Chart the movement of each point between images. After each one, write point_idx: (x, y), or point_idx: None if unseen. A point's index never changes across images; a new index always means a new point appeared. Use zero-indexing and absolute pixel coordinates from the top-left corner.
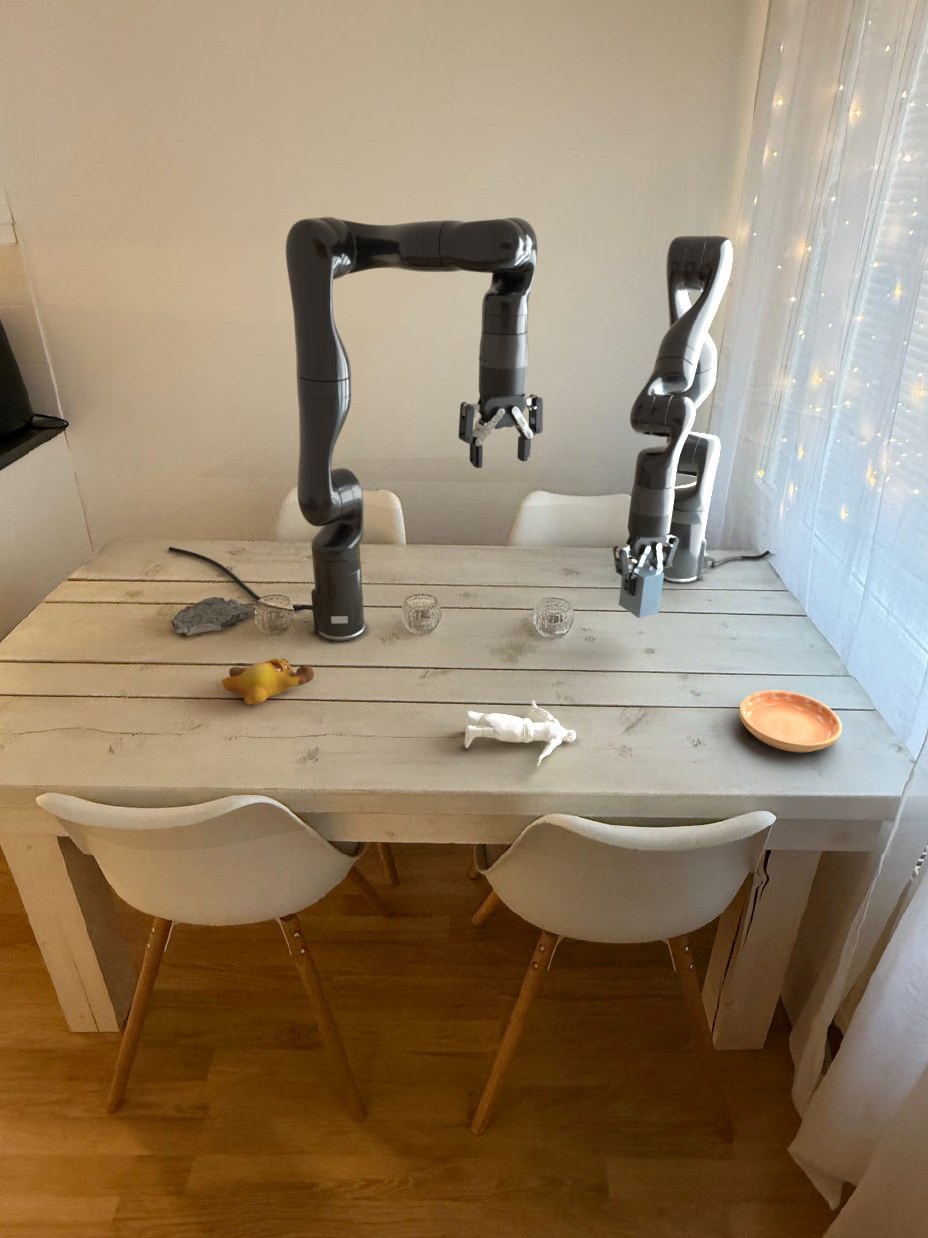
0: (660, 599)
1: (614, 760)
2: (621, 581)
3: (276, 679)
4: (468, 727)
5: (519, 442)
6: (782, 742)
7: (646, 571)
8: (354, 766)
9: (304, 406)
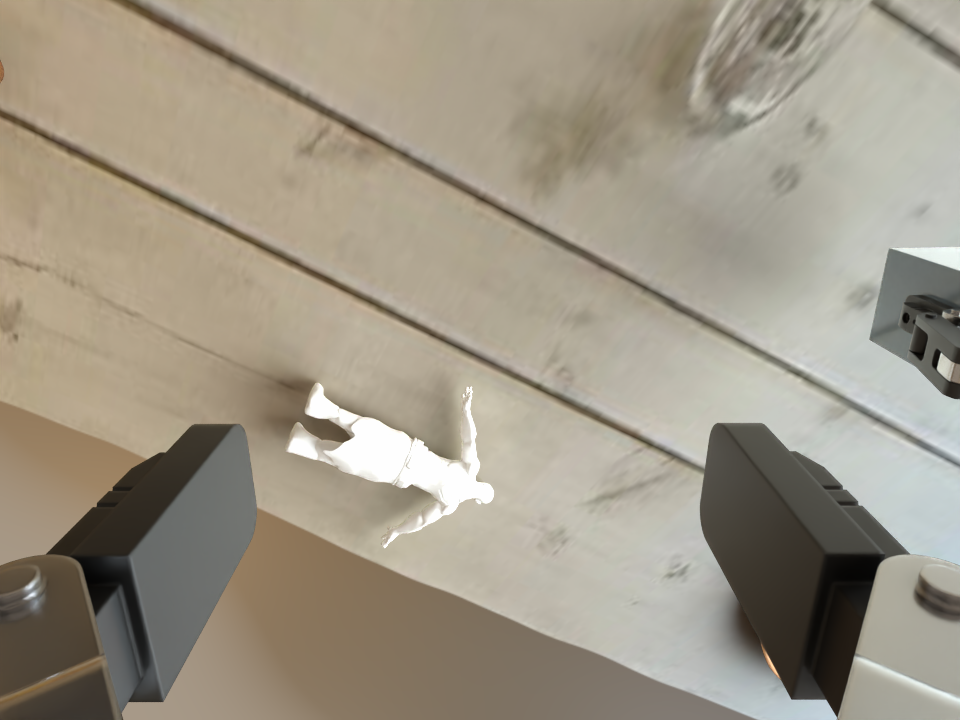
0: None
1: (522, 551)
2: (940, 266)
3: None
4: (288, 450)
5: (784, 542)
6: (771, 669)
7: None
8: (84, 384)
9: None
